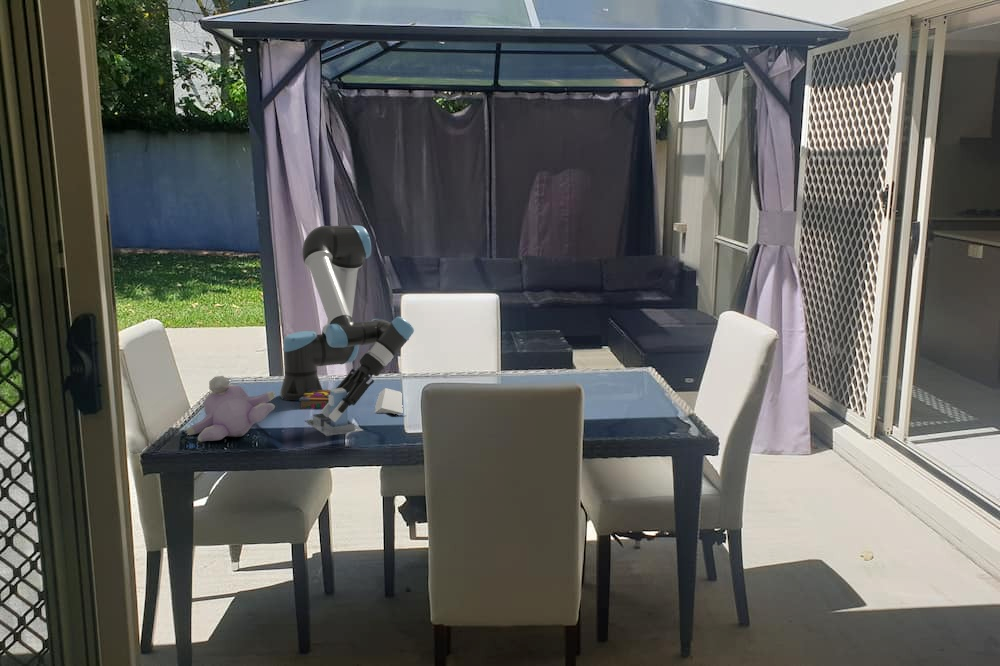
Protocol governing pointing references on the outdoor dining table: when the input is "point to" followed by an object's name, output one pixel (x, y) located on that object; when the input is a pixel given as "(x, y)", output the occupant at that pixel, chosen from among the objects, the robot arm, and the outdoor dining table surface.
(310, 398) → the decorative book
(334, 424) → the plug
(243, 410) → the toy
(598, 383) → the outdoor dining table surface
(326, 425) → the panel
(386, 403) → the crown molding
